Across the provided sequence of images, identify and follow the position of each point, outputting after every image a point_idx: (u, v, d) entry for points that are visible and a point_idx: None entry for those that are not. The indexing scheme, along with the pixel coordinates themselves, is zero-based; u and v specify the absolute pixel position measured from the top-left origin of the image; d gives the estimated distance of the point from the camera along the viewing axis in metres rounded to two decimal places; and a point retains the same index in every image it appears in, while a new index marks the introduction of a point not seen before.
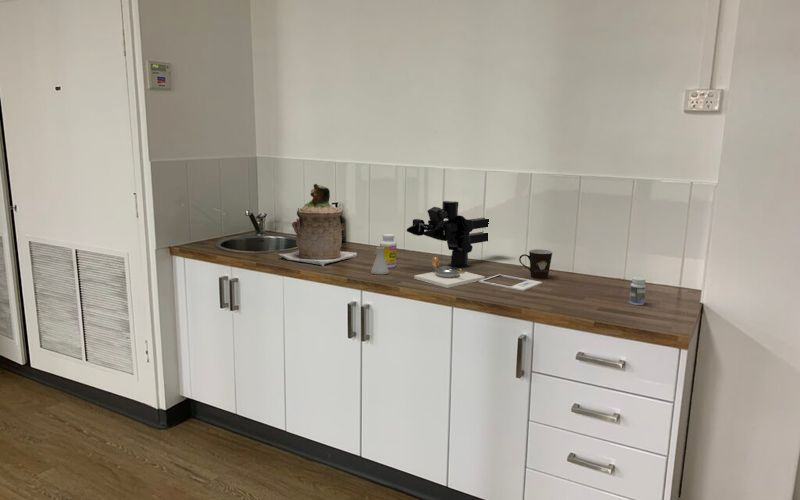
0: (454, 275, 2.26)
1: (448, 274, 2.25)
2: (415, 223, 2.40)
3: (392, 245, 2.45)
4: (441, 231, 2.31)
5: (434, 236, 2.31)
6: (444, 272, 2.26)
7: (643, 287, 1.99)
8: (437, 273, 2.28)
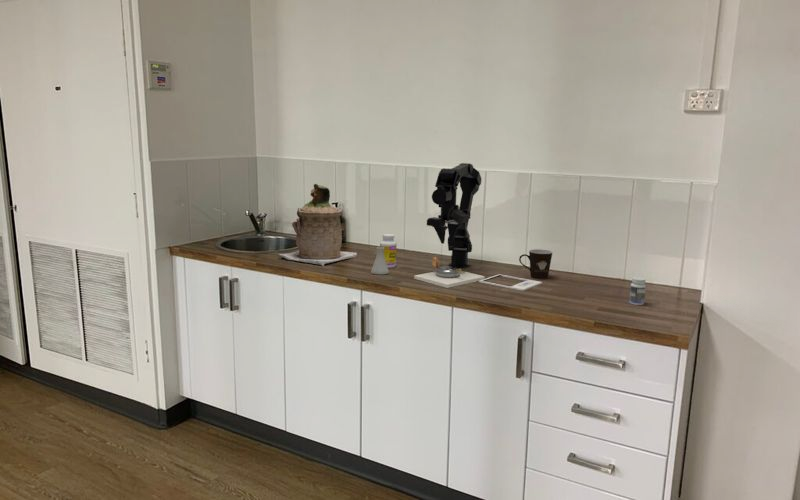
0: (454, 275, 2.26)
1: (448, 274, 2.25)
2: (444, 229, 2.31)
3: (392, 245, 2.45)
4: None
5: None
6: (444, 272, 2.26)
7: (643, 287, 1.99)
8: (437, 273, 2.28)
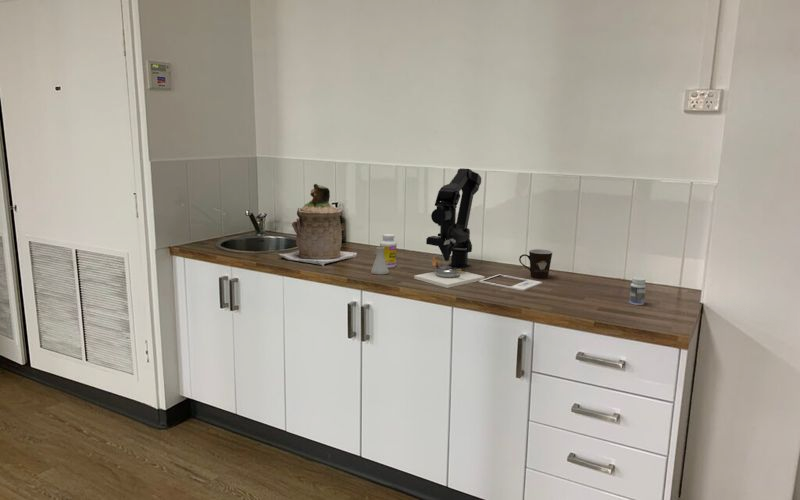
0: (454, 275, 2.26)
1: (448, 274, 2.25)
2: (448, 247, 2.35)
3: (392, 245, 2.45)
4: None
5: None
6: (444, 272, 2.26)
7: (643, 287, 1.99)
8: (437, 273, 2.28)
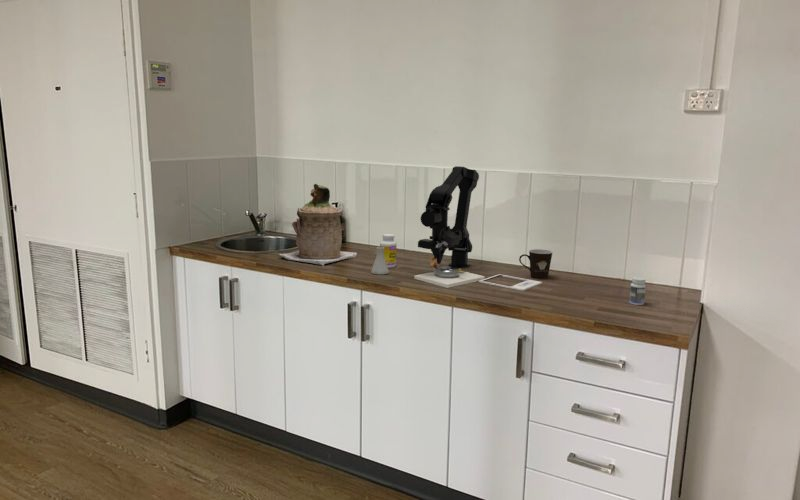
0: (455, 275, 2.26)
1: (449, 274, 2.25)
2: (440, 250, 2.32)
3: (392, 245, 2.45)
4: None
5: None
6: (445, 272, 2.25)
7: (643, 287, 1.99)
8: (438, 273, 2.27)
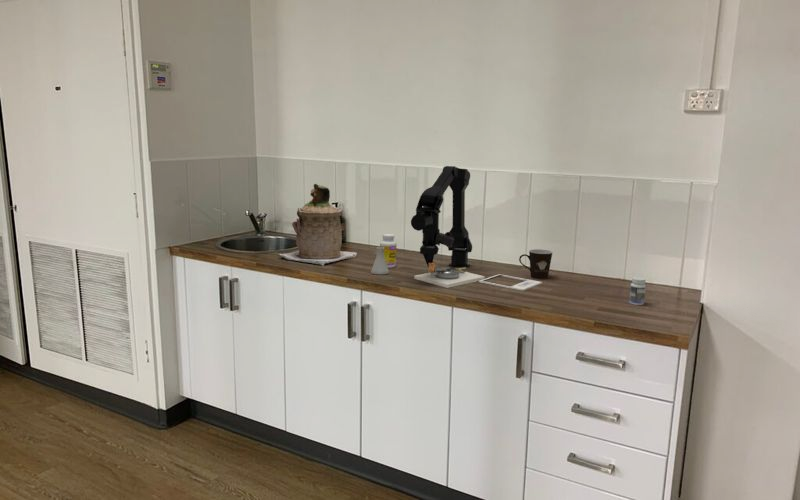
0: None
1: None
2: None
3: (392, 245, 2.45)
4: None
5: None
6: (457, 272, 2.25)
7: (643, 287, 1.99)
8: (450, 276, 2.24)
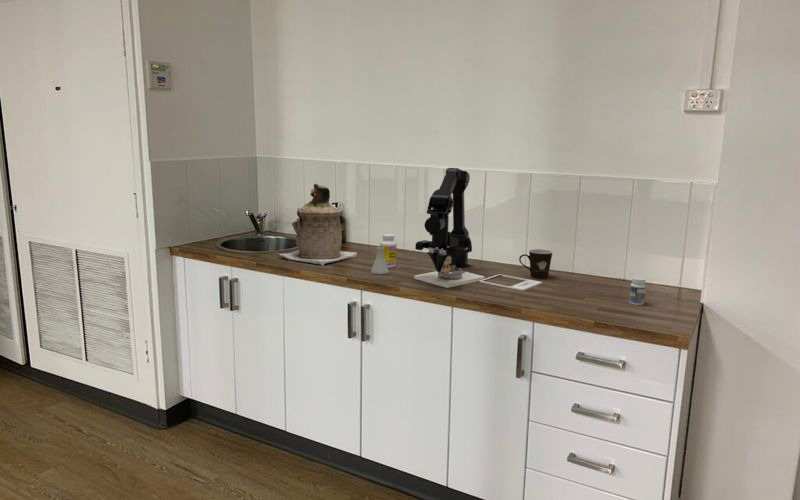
0: None
1: None
2: None
3: (392, 245, 2.45)
4: None
5: None
6: None
7: (643, 287, 1.99)
8: (460, 275, 2.25)
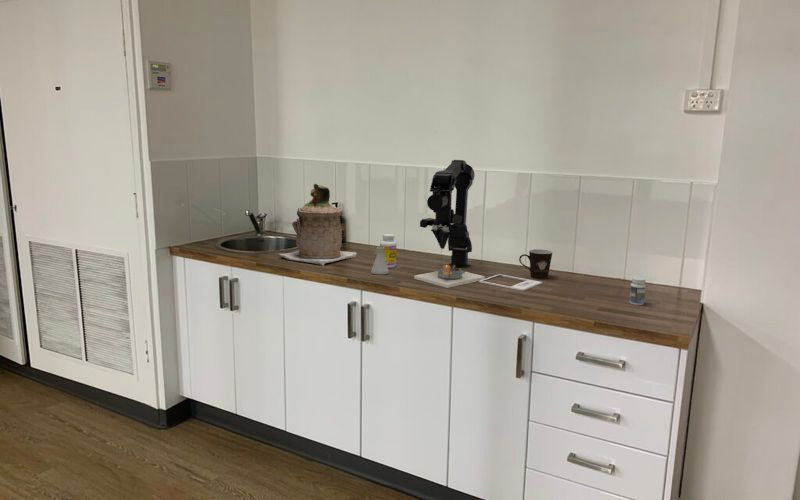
0: None
1: None
2: None
3: (392, 245, 2.45)
4: None
5: None
6: None
7: (643, 287, 1.99)
8: (460, 275, 2.25)
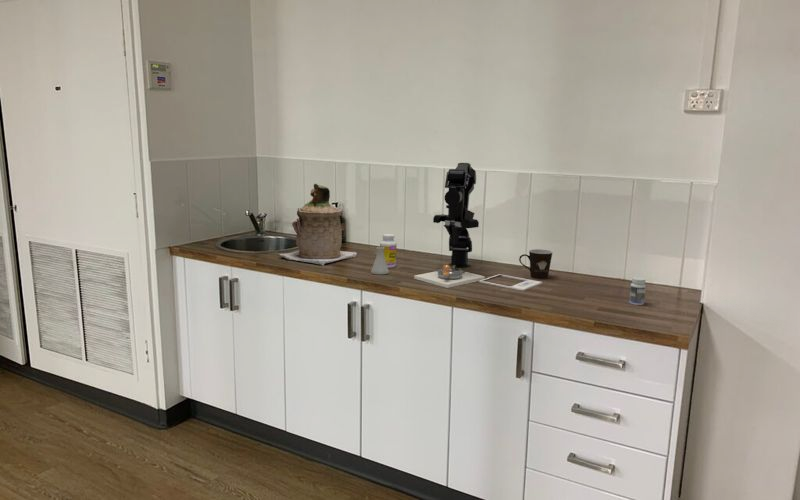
0: None
1: None
2: None
3: (392, 245, 2.45)
4: None
5: None
6: None
7: (643, 287, 1.99)
8: (460, 275, 2.25)
